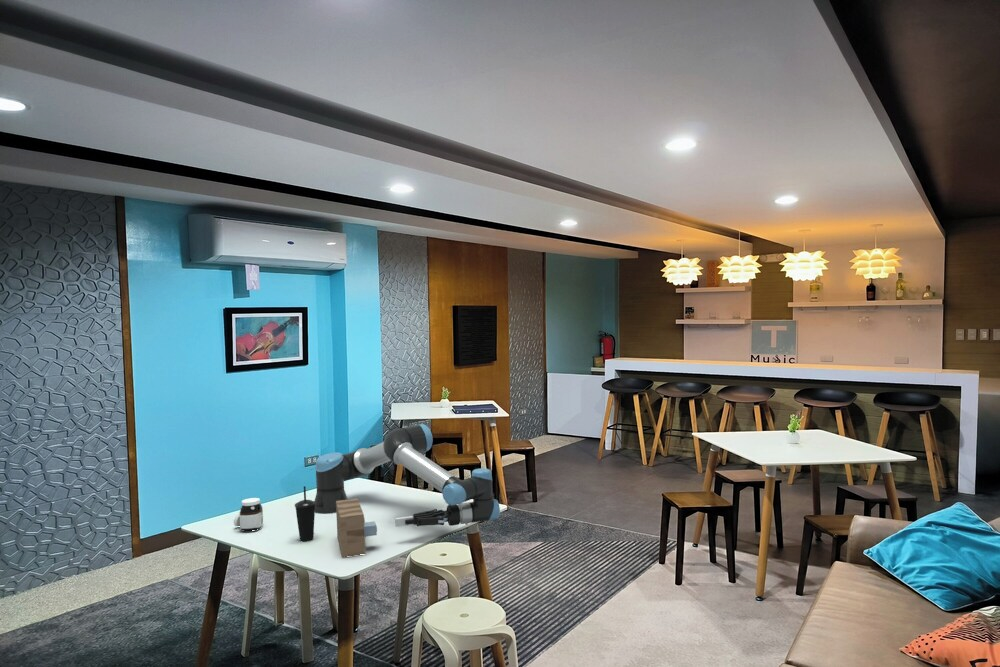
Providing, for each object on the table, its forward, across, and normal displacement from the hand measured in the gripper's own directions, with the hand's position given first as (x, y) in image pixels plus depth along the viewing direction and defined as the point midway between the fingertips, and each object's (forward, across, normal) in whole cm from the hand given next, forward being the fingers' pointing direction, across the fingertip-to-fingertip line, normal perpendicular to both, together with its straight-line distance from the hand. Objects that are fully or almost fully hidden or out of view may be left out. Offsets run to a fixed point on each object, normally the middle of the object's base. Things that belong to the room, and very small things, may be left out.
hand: (395, 522), depth 232 cm
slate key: (+10, -2, -2) cm, 11 cm away
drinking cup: (+31, +18, -8) cm, 37 cm away
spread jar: (+53, +42, -8) cm, 68 cm away
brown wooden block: (+16, +4, -8) cm, 18 cm away
